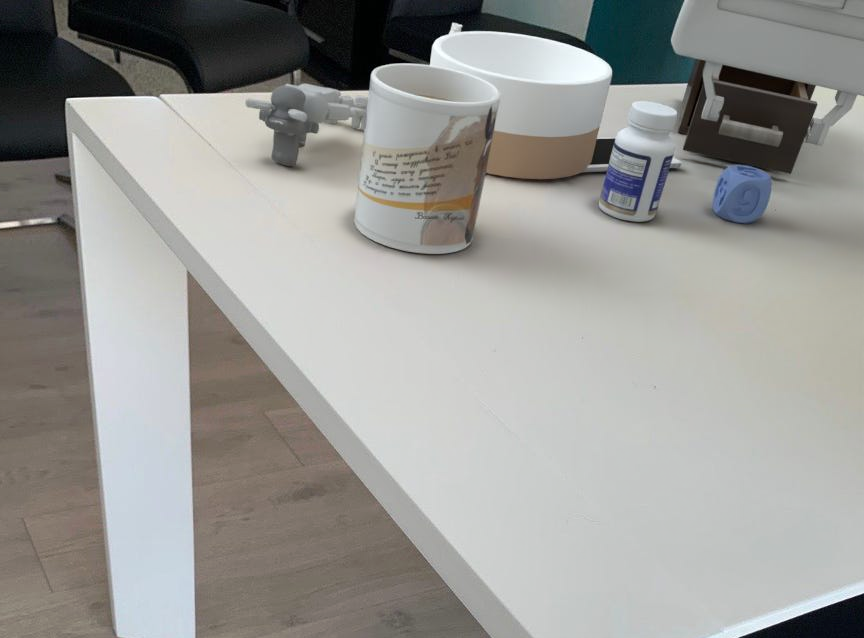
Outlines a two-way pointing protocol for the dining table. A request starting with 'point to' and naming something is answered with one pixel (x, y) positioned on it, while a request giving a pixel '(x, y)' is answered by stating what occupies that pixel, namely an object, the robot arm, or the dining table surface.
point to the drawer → (753, 120)
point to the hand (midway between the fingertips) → (760, 130)
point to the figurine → (304, 115)
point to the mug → (424, 157)
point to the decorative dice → (742, 193)
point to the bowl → (534, 99)
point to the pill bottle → (639, 163)
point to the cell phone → (604, 153)
